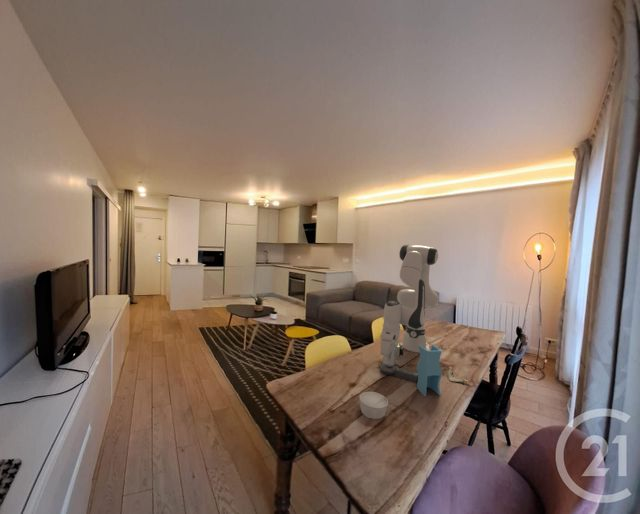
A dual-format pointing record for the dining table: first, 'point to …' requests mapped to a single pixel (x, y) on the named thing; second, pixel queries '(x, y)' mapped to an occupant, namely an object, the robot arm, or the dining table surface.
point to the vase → (429, 369)
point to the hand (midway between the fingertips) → (389, 358)
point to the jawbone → (452, 378)
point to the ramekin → (373, 404)
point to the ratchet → (398, 372)
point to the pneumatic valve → (399, 351)
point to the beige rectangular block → (392, 358)
